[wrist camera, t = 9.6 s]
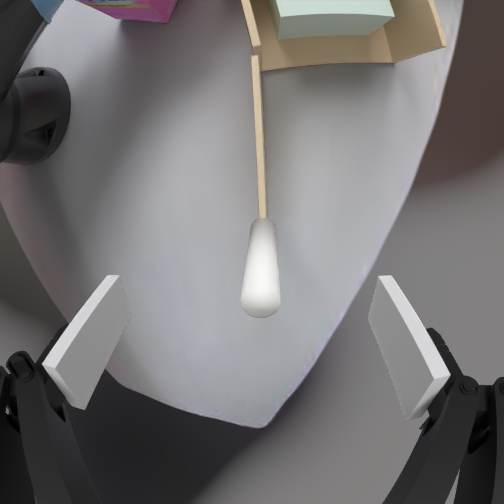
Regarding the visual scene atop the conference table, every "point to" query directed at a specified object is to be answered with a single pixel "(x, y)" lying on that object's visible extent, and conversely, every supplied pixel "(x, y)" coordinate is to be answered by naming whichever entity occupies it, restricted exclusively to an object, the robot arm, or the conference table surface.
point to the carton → (340, 31)
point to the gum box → (135, 9)
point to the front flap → (261, 231)
